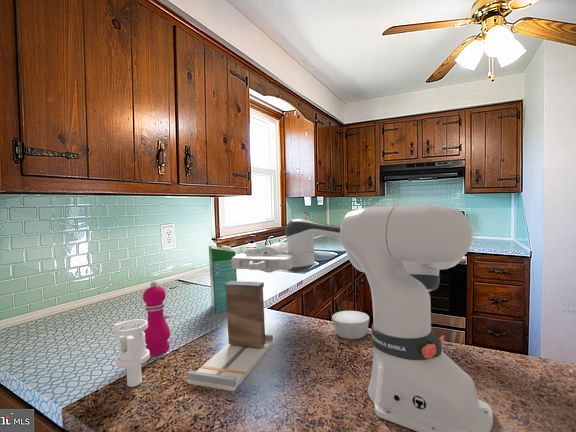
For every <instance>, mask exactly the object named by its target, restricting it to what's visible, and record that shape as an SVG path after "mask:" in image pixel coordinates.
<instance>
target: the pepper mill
mask: <svg viewBox="0 0 576 432" xmlns="http://www.w3.org/2000/svg"><path fill="white" fill-rule="evenodd" d="M157 282H158V281H157ZM157 282H156V281H152V282H150V287H148V288H146V289H145V290H144V292H143V295H142V300H143V302H144V303H145V304H146V305H145V311H146V312H147V319H146V320H147V321H148V328H147V329H146V330H144V331H143V332H144V333H145V343H146V349H148V350H149V351H150V356H158V355H162V354H164V353H166V352H167V351H169V350H170V341H169V339H170V337H171V330H170V327H169V325H168V324H169V323H167V321H166V318H165V315H164V309H165V302H164V300H165V299H166V297H167V293H166V290H165V289H164V288H163V287H162V286H158V283H157Z"/></svg>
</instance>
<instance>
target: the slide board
mask: <svg viewBox="0 0 576 432" xmlns="http://www.w3.org/2000/svg"><path fill="white" fill-rule="evenodd" d="M273 345H274V334H269V333H265V344H264V345H263V346H262V347H261V348H259V347H250V346H241V345H232V344H229V342H227V343H226V345H224V346H223V347H222V348H221V349H220V350H219V351H217V352H216V353H215V354H214V355H213V356H212V357H211V358H209V359H208V360H207V362H205V363H204V364H203V365H201V366H200V368H198V369H196V371H195V370H189V371H187V372H186V376H187V384H189V385H195V386H200V387H206V388H207V387H208V388H212V389H213V388H214V389H219V390H224V391H231V392H235V391H236V390H237V388H238V387H239V386H240V385H241V383H242V382H244V380H245V379H246V378H247V376H248V375H249V374H250V373H251V371H252V370H253V369H254V368H255V367H256V365H257V364H258V363H259V362H260V360H261V359H262V358H263V356H264V355H265V354H266V353H267V352H268V350H269V349H270V348H271V347H272V346H273Z"/></svg>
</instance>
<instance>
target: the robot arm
mask: <svg viewBox="0 0 576 432" xmlns="http://www.w3.org/2000/svg"><path fill="white" fill-rule="evenodd" d="M284 232H285V238H286V242H285V241H280V242H278V241H277V242H273V243H272V244H269V245H267V246H262V247H258V248H250V249H245V250H244V252H240V253H239V254H236V256H234V257H232V260H231V264H232V268H233V269H236V270H237V269H238V270H249V271H261V272H265V273H274V272H276V271H288V272H290V273H303V272H305V271H309V270H310V269H311V268H313V266H314V265H315V246H314V245H315V242H314V235H319V236H322V237H329V238H335V239H336V240H338V241H339V242H340V243H341V244H342V247H343V248H344V251H345V254H346V255H347V258H348V260H349V261H350V263H351V265H352V266H353V267H354V268H355V269H356V270H357V271H359V272H362V273H365V276H366V279H367V281H368V284H369V287H370V288H369V289H370V293H371V302H372V316H373V322H372V325H371V344H372V348H373V352H372V353H373V357H372V367H371V373H370V379H369V382H368V386H367V394H368V396H369V398H370V400H371V401H372V404H373V405H374V413H375V415H376V417H378V418H381V419H383V420H385V421H389V422H391V423H394V424H397V425H400V426H402V427H404V428H407V429H409V430H413V431H415V432H491V431H492V429H493V426H494V414H493V410H492V408H491V406H490V405H489V404H488V403H487V402H485V401H483V400H481V399H480V398H479V397H478V392H477V388H476V385H475V383H474V380H473V378H472V377H471V376H470V375H469V374H468V373H467V372H466V371H464V370H463V369H462V368H461V367H460V366H459V365H458V364H456V362H455V361H454V360H452V358H450V357H449V356H448V354H446V353H445V352H444V351H443V350H442V344H443V343H444V342H445V335H440V337H438V336H437V335H436V333H435V331H434V330H433V328H432V318H431V317H432V314H431V313H432V311H431V308H432V306H431V295H430V292H432V291H435V290H437V289H438V288H439V286H440V283H441V282H440V281H441V276H440V270H448V269H450V268H451V269H452V268H454V267H455V266H456V265H458V264H459V263H460V262H461V261H462V259H463V258H464V257H465V256H466V254H467V253H468V252H469V250H470V248H471V245H472V241H473V231H472V226H471V223H470V222H469V220H468V218H467V217H466V215H465V214H464V213H463V212H461V210H459V209H456V208H452V207H446V206H439V205H431V204H430V205H429V204H428V205H427V204H426V205H425V204H424V205H422V204H421V205H389V206H388V205H387V206H382V205H381V206H367V207H366V206H365V207H362V208H359V209H355V210H352V211H349V212H348V213H346V215H345V216H344V218H343V219H342V221H341V223H340V226H339V225H335V224H334V225H333V224H328V223H321V222H315V221H311V220H307V219H304V218H295V219H291V220H289V222H288V223H287V224H286V226H285V228H284Z"/></svg>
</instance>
